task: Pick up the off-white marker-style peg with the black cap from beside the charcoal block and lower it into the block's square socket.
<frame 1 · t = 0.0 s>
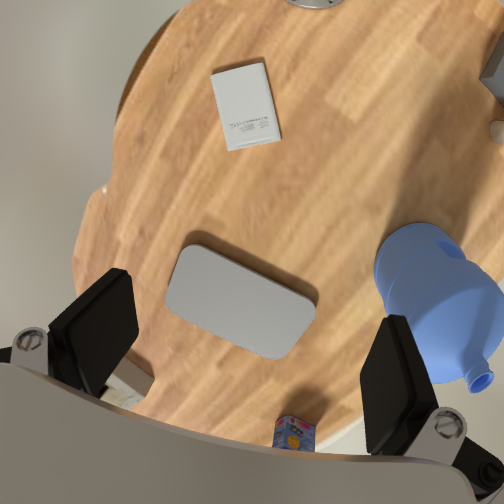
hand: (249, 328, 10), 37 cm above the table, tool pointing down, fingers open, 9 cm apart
box: (104, 373, 75), on the table
water jug: (414, 263, 46), on the table
ink cartridge box: (296, 423, 69), on the table
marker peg: (497, 131, 34), on the table
external hard drive: (246, 106, 42), on the table
tablet: (239, 301, 56), on the table
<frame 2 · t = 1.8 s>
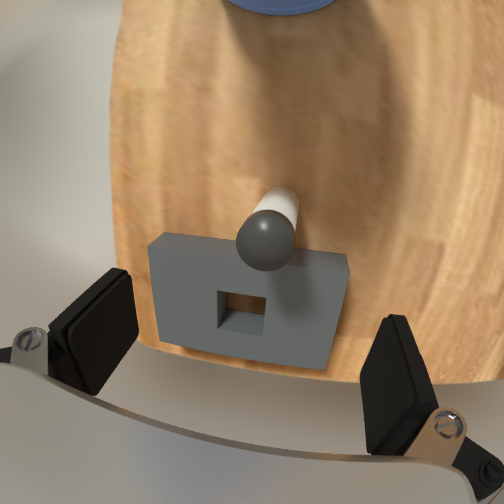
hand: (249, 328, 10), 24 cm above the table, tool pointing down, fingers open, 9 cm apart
socket block: (248, 294, 38), on the table
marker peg: (280, 203, 32), on the table
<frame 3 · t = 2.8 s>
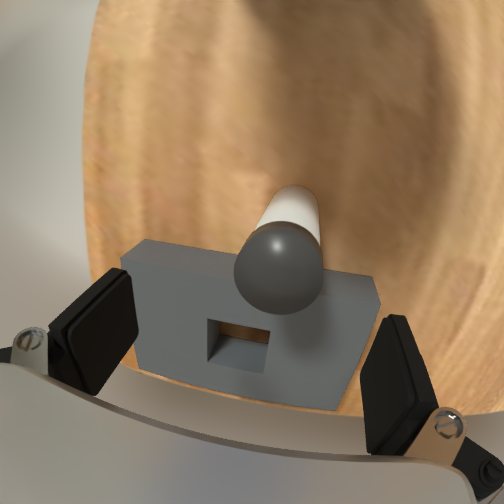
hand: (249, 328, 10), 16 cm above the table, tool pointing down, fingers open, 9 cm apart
socket block: (246, 319, 30), on the table
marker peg: (294, 208, 25), on the table
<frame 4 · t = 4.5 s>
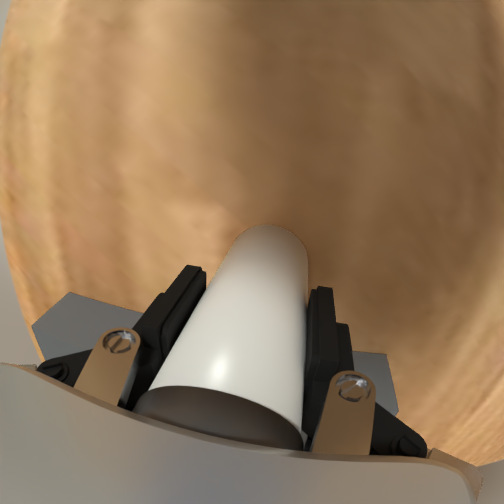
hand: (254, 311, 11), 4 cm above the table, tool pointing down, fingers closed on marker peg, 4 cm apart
socket block: (209, 397, 21), on the table
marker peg: (268, 262, 15), on the table, touching gripper
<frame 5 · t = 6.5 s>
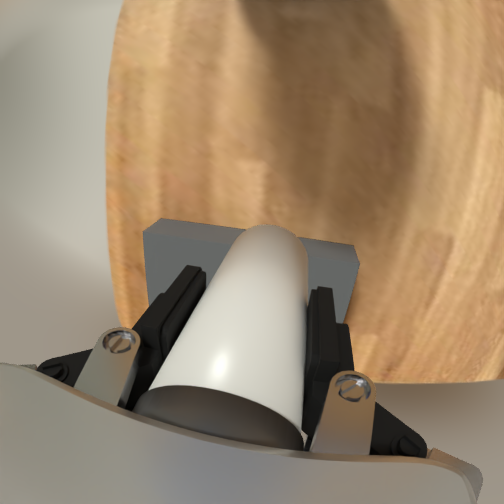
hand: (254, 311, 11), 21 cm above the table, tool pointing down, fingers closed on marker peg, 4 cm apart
socket block: (248, 286, 36), on the table
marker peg: (268, 262, 15), point 17 cm above the table, touching gripper
when the fingers open (6 cm above the table, at t = 10.1 s): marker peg drops 1 cm, resting in socket block.
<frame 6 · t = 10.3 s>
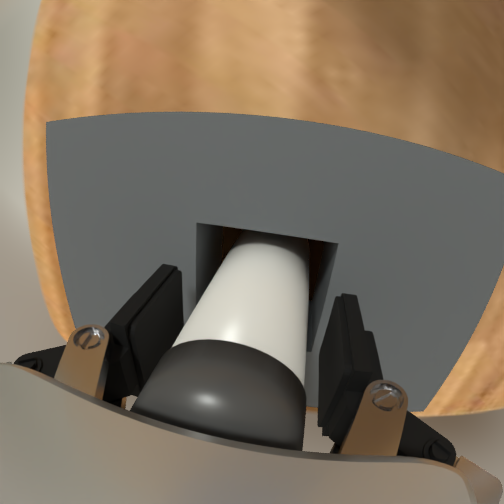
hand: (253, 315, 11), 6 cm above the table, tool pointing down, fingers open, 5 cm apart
socket block: (271, 250, 16), on the table
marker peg: (272, 250, 16), resting in socket block
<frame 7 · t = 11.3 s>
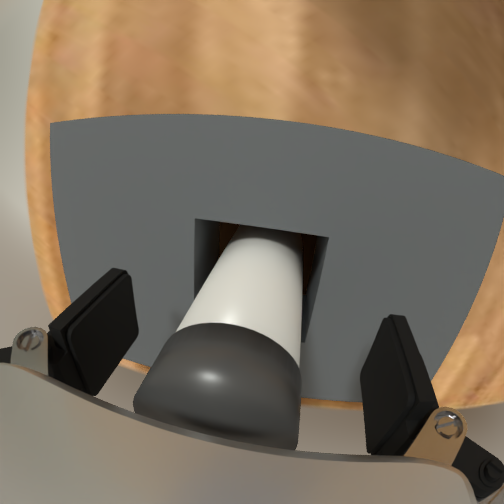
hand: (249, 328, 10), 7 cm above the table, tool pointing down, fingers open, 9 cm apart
socket block: (266, 246, 17), on the table
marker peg: (267, 246, 17), resting in socket block
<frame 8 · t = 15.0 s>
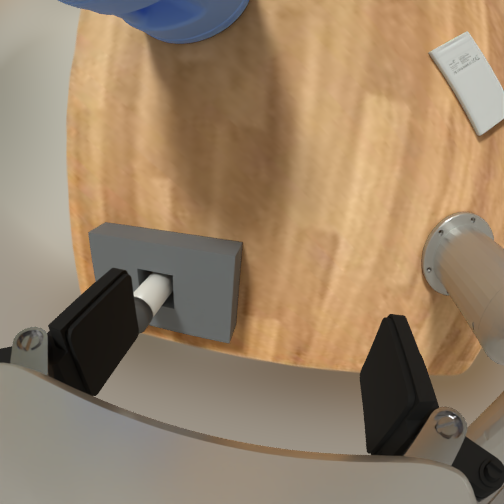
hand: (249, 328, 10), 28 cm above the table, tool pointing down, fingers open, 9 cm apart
socket block: (168, 274, 44), on the table
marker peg: (168, 274, 44), resting in socket block
external hard drive: (470, 82, 26), on the table
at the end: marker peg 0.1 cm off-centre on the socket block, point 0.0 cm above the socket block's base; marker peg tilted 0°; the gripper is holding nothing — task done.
